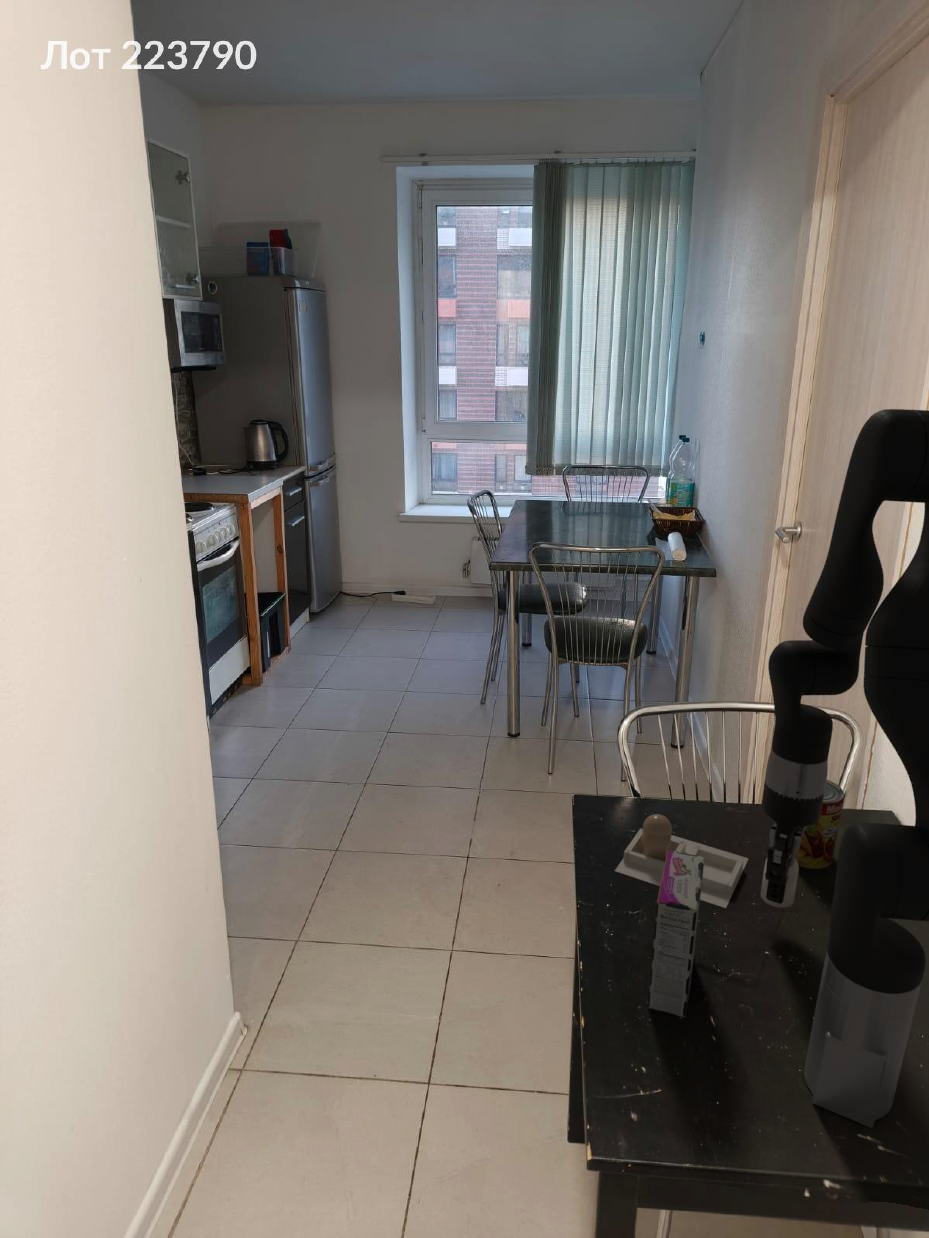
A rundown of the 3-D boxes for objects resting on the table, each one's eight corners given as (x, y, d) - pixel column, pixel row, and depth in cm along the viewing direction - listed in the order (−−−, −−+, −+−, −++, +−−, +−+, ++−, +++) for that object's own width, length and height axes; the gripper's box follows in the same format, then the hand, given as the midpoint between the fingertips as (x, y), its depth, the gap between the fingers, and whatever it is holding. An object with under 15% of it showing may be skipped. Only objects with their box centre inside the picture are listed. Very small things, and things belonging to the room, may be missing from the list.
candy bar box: (655, 950, 117) (666, 847, 111) (693, 959, 115) (706, 855, 110) (644, 1009, 107) (655, 900, 101) (685, 1020, 105) (699, 909, 100)
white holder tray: (725, 911, 124) (727, 898, 124) (614, 873, 132) (615, 861, 132) (748, 861, 136) (749, 849, 135) (644, 829, 144) (645, 818, 143)
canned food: (834, 873, 133) (846, 805, 129) (780, 863, 136) (791, 796, 132) (830, 844, 140) (842, 780, 136) (779, 836, 143) (789, 772, 139)
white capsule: (790, 911, 117) (797, 866, 115) (757, 900, 119) (763, 856, 117) (796, 893, 121) (803, 850, 119) (764, 884, 123) (770, 840, 121)
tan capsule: (663, 867, 133) (667, 827, 131) (636, 858, 135) (640, 818, 133) (672, 852, 137) (676, 813, 134) (645, 844, 139) (649, 805, 136)
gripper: (815, 814, 107) (796, 929, 112) (832, 767, 119) (814, 872, 124) (754, 798, 110) (738, 910, 116) (776, 753, 122) (761, 857, 128)
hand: (778, 890), depth 120 cm, fingers closed on white capsule, 4 cm apart
